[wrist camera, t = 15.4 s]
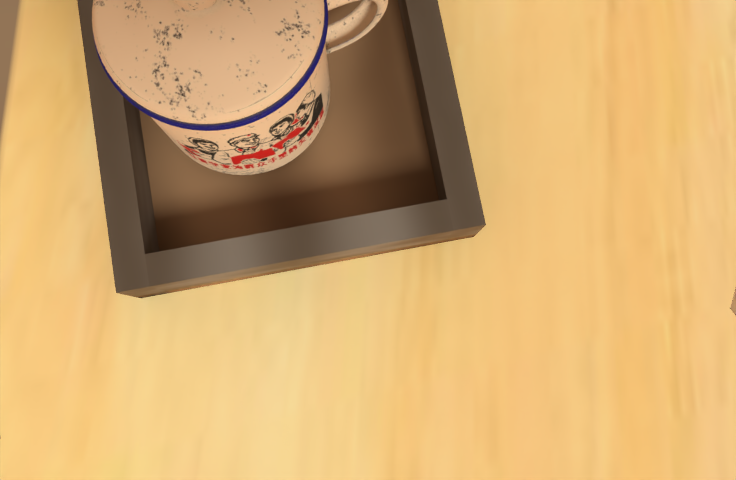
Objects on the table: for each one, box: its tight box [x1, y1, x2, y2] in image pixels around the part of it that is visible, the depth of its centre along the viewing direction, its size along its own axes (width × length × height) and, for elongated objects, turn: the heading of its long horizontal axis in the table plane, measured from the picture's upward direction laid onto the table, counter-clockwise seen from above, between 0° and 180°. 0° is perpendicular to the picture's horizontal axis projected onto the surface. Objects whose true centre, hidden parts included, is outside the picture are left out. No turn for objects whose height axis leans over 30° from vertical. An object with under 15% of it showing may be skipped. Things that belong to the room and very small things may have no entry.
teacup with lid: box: [92, 0, 388, 175], centre depth 30 cm, size 12×9×12 cm
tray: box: [77, 0, 486, 298], centre depth 35 cm, size 17×19×4 cm
